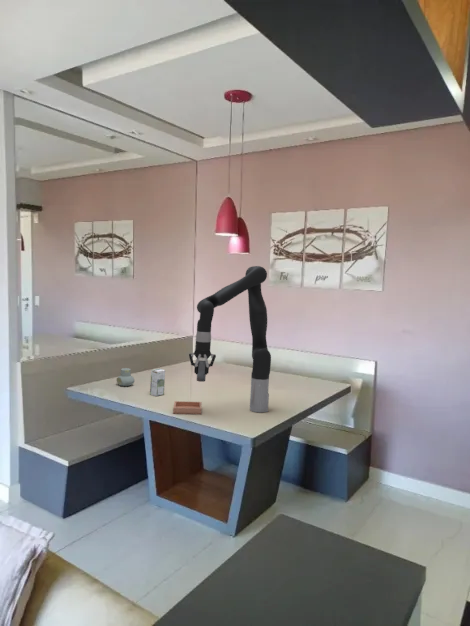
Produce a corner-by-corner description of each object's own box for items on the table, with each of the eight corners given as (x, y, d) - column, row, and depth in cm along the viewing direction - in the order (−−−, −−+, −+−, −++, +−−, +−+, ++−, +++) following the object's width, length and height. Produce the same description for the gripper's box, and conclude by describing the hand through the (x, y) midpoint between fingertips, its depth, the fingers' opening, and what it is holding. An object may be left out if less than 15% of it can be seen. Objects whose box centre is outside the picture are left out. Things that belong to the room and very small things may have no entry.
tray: (201, 407, 245) (201, 401, 245) (201, 414, 233) (201, 408, 233) (174, 406, 244) (174, 401, 243) (173, 413, 232) (173, 407, 232)
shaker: (205, 379, 237) (206, 356, 236) (205, 381, 232) (207, 358, 231) (196, 379, 236) (197, 355, 235) (196, 381, 232) (197, 357, 231)
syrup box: (157, 392, 270) (158, 368, 269) (164, 394, 266) (165, 369, 265) (149, 394, 265) (150, 369, 264) (156, 396, 262) (157, 371, 260)
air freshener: (114, 384, 285) (115, 368, 284) (127, 382, 291) (127, 366, 290) (123, 388, 277) (123, 371, 276) (135, 386, 283) (136, 370, 282)
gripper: (217, 340, 237) (215, 373, 238) (189, 338, 235) (187, 371, 237) (218, 342, 229) (215, 376, 231) (188, 340, 228) (186, 375, 229)
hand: (201, 374), depth 234 cm, fingers closed on shaker, 4 cm apart
